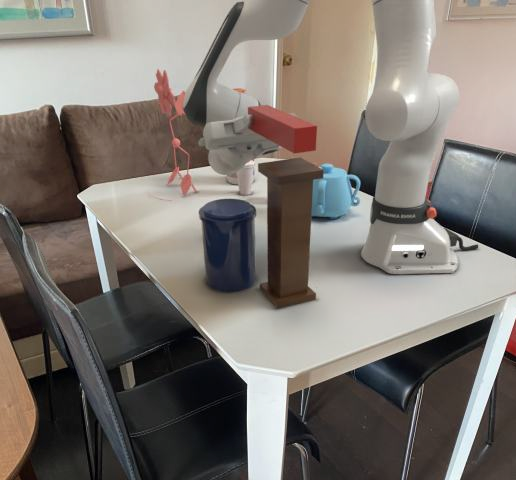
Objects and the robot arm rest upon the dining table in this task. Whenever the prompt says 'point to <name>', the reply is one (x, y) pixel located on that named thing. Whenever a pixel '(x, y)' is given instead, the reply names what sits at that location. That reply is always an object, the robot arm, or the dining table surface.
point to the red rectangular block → (283, 129)
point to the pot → (229, 244)
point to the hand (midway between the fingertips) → (264, 117)
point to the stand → (289, 230)
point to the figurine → (165, 100)
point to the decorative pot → (333, 193)
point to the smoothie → (246, 178)
